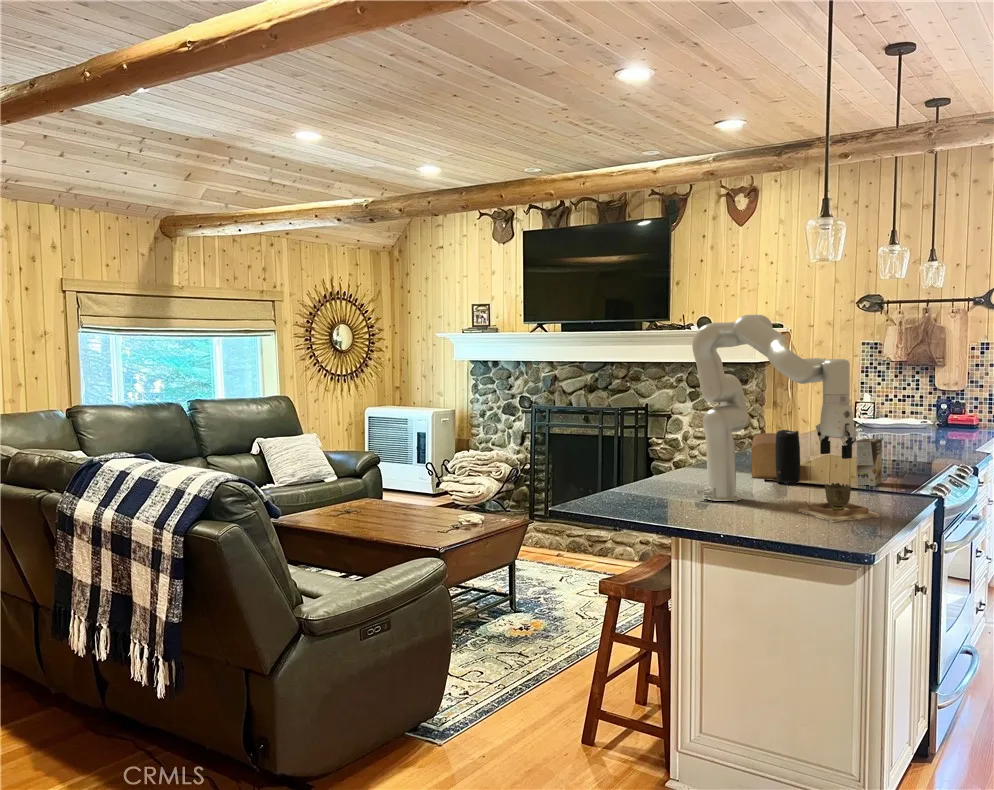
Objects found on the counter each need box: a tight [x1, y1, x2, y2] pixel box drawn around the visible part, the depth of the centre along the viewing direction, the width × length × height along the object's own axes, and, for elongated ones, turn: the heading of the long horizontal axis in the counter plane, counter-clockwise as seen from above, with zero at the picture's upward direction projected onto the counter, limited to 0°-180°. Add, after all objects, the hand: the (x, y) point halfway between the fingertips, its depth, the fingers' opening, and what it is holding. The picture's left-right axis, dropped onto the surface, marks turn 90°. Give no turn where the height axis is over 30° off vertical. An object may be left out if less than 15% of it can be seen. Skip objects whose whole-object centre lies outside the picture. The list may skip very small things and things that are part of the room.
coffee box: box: [856, 438, 883, 487], centre depth 292 cm, size 9×6×16 cm
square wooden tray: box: [798, 502, 880, 521], centre depth 247 cm, size 16×16×2 cm
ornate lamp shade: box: [824, 482, 852, 511], centre depth 247 cm, size 8×7×8 cm
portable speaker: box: [775, 429, 801, 486], centre depth 299 cm, size 9×9×20 cm
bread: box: [750, 432, 777, 479], centre depth 327 cm, size 14×34×14 cm, turn 162°
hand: (835, 456), depth 246 cm, fingers open, 9 cm apart
